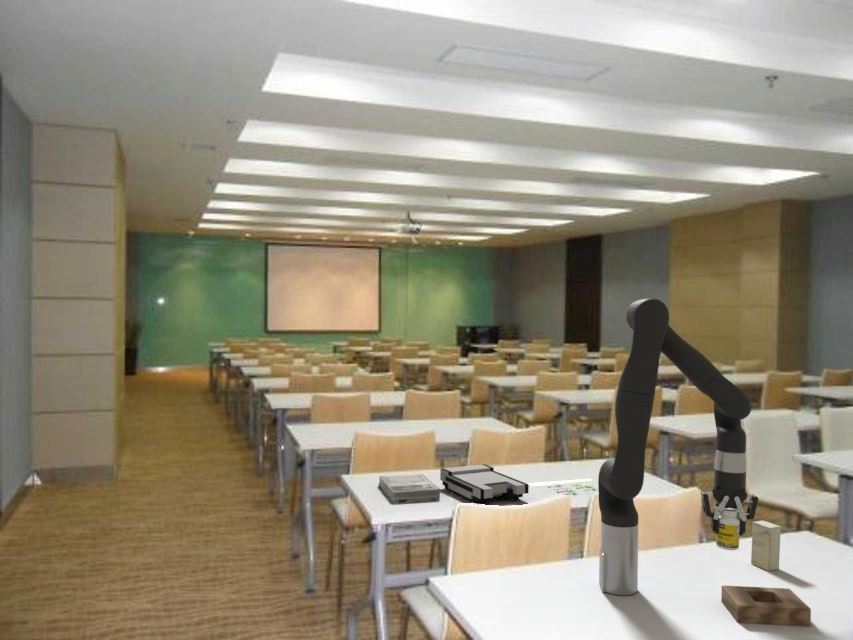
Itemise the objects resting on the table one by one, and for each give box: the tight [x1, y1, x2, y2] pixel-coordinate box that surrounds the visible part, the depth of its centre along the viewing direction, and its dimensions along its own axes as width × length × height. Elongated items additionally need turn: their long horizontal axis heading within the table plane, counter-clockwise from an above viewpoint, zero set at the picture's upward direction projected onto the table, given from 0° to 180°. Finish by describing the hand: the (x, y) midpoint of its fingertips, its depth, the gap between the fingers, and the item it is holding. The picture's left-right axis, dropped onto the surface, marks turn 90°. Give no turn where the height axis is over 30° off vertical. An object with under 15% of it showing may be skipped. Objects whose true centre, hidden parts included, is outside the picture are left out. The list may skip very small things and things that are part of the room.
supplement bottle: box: [715, 508, 740, 551], centre depth 183 cm, size 5×5×10 cm
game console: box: [439, 464, 530, 505], centre depth 277 cm, size 21×32×8 cm, turn 26°
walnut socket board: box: [720, 585, 812, 627], centre depth 169 cm, size 16×12×4 cm
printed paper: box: [526, 478, 599, 495], centre depth 286 cm, size 30×30×2 cm
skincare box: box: [750, 520, 782, 572], centre depth 201 cm, size 6×4×12 cm
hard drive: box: [378, 473, 441, 503], centre depth 280 cm, size 18×27×4 cm
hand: (728, 533), depth 183 cm, fingers closed on supplement bottle, 5 cm apart
